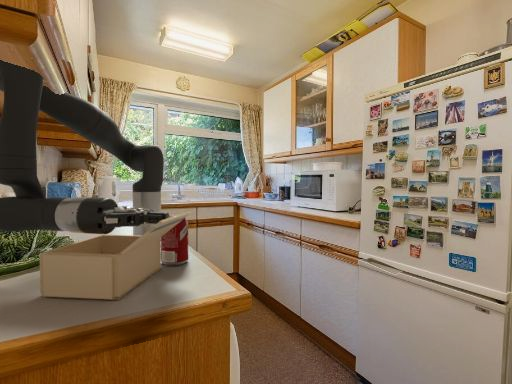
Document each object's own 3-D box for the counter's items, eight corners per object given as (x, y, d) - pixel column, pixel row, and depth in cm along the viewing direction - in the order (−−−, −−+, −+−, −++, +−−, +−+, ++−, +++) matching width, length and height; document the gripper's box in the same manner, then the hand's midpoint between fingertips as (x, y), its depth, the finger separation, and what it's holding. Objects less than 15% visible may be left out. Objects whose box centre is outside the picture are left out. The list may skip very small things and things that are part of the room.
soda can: (174, 268, 66) (174, 219, 65) (155, 264, 69) (154, 217, 68) (193, 261, 72) (193, 216, 71) (175, 257, 75) (174, 214, 74)
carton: (101, 266, 67) (100, 234, 67) (161, 268, 66) (161, 235, 65) (35, 297, 49) (34, 253, 49) (117, 301, 48) (116, 256, 47)
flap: (160, 234, 64) (190, 210, 64) (161, 236, 64) (192, 212, 63) (120, 252, 48) (160, 220, 47) (122, 255, 48) (162, 222, 47)
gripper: (62, 199, 50) (151, 202, 48) (108, 195, 63) (180, 197, 61) (62, 239, 50) (151, 244, 49) (108, 227, 64) (180, 230, 62)
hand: (167, 218), depth 55 cm, fingers closed
